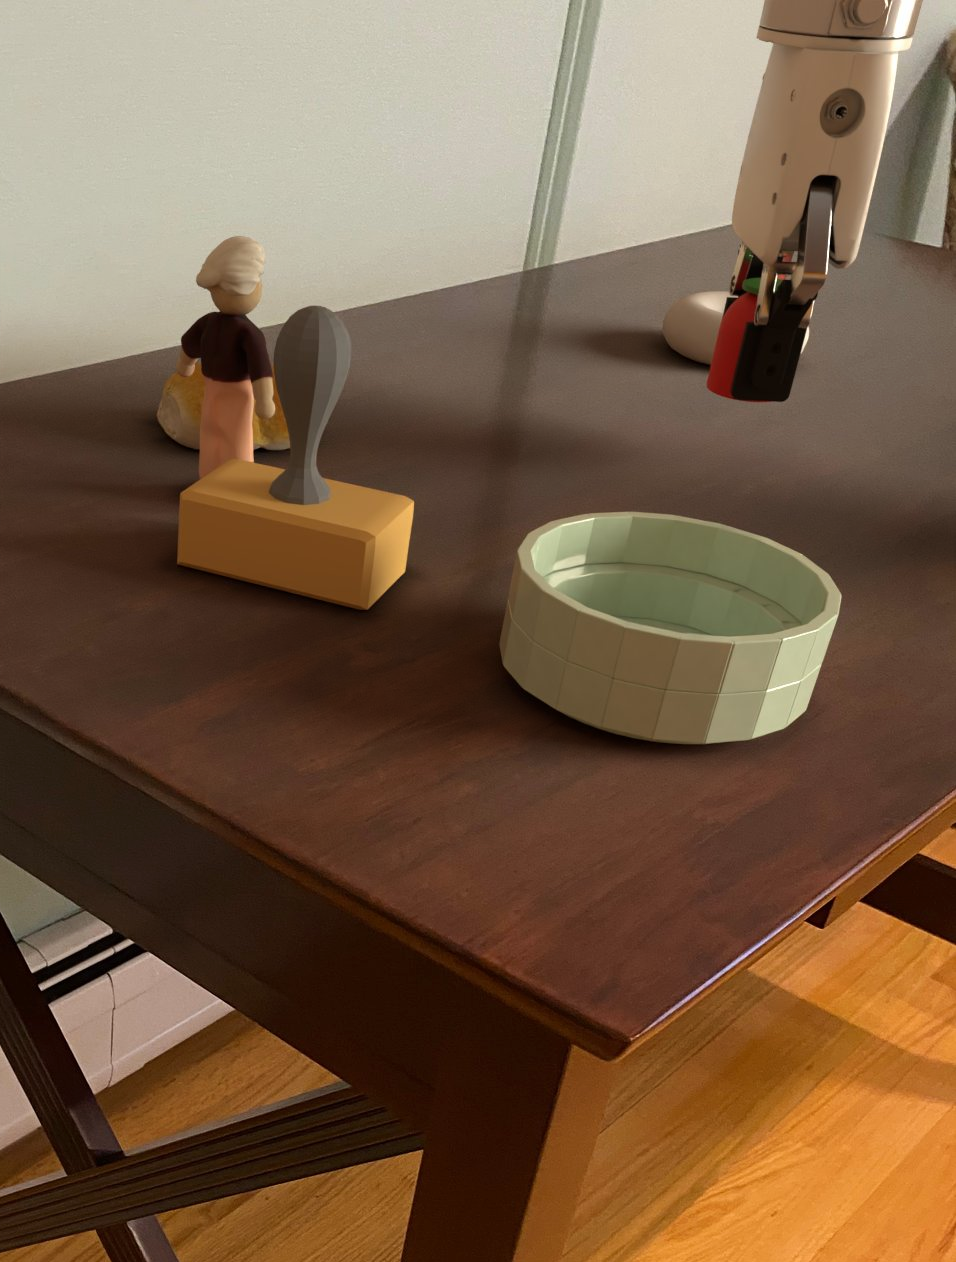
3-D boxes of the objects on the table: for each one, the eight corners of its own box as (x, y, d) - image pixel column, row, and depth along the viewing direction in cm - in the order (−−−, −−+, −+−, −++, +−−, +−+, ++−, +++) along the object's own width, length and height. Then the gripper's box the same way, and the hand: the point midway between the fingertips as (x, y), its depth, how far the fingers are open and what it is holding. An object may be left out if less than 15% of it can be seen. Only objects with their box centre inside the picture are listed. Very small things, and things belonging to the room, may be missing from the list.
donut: (827, 364, 106) (711, 326, 112) (844, 313, 104) (725, 277, 110) (746, 387, 101) (628, 345, 107) (761, 333, 99) (640, 294, 104)
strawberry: (777, 380, 88) (804, 276, 85) (795, 404, 85) (824, 296, 81) (699, 376, 89) (722, 272, 85) (714, 400, 85) (739, 292, 81)
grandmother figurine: (299, 507, 79) (324, 246, 71) (253, 525, 77) (272, 258, 69) (192, 467, 83) (204, 216, 75) (145, 484, 81) (151, 226, 73)
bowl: (766, 627, 70) (798, 524, 67) (838, 768, 60) (879, 654, 57) (487, 605, 71) (506, 501, 68) (511, 741, 61) (534, 627, 57)
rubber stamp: (407, 571, 73) (444, 311, 66) (364, 614, 69) (399, 342, 62) (225, 527, 76) (240, 275, 69) (174, 566, 72) (184, 302, 65)
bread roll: (334, 450, 86) (341, 379, 84) (189, 463, 84) (193, 389, 81) (276, 404, 92) (282, 336, 90) (140, 415, 89) (142, 345, 87)
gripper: (971, 31, 68) (852, 436, 80) (869, -4, 82) (780, 348, 93) (805, 24, 69) (710, 428, 80) (731, -9, 82) (658, 342, 93)
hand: (748, 381), depth 86 cm, fingers closed on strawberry, 4 cm apart
